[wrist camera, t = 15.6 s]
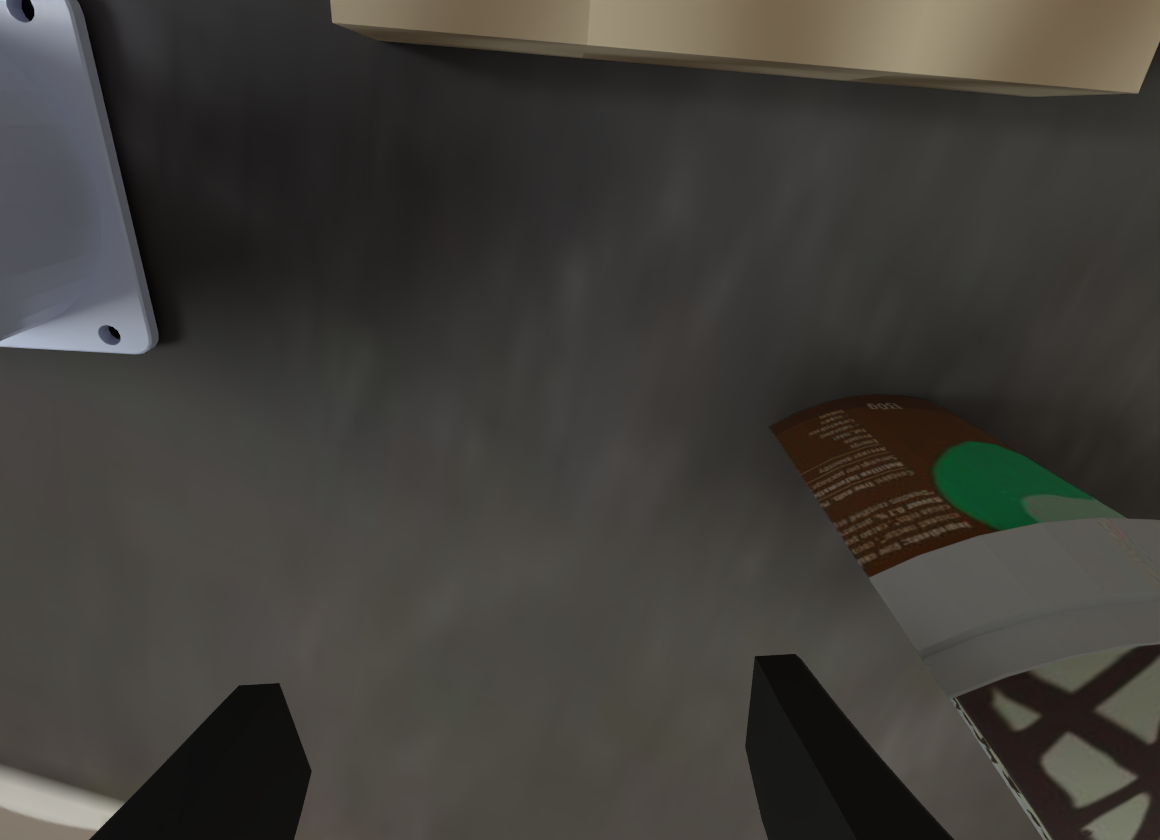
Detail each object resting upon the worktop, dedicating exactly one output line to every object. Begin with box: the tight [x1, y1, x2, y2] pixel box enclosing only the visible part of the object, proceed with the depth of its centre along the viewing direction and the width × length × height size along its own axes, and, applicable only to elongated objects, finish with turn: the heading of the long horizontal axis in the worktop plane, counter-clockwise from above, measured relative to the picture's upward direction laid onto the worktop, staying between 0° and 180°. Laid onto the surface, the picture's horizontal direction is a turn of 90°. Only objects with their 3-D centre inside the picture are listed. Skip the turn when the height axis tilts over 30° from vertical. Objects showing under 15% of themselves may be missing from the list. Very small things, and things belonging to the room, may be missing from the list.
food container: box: [769, 394, 1160, 840], centre depth 15 cm, size 12×6×10 cm, turn 36°
